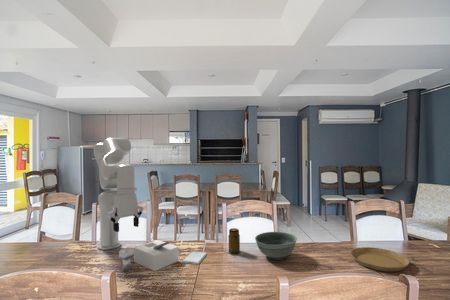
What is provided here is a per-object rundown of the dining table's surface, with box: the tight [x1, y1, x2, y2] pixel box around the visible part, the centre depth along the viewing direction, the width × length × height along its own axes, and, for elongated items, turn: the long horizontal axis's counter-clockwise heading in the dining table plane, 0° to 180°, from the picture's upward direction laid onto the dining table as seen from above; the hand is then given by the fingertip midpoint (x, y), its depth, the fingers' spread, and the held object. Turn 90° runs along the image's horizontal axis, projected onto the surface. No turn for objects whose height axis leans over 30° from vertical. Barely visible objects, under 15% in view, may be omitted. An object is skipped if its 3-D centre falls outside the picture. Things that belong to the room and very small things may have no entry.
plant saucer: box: [350, 246, 410, 273], centre depth 125 cm, size 24×24×3 cm
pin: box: [118, 247, 134, 272], centre depth 120 cm, size 6×6×9 cm
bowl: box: [254, 231, 297, 261], centre depth 133 cm, size 21×21×10 cm
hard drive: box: [182, 251, 208, 265], centre depth 132 cm, size 2×8×12 cm
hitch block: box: [133, 239, 179, 272], centre depth 129 cm, size 17×14×7 cm
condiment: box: [225, 227, 246, 257], centre depth 139 cm, size 7×8×12 cm
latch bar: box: [153, 241, 170, 249], centre depth 126 cm, size 7×5×1 cm
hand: (126, 228), depth 120 cm, fingers open, 9 cm apart
